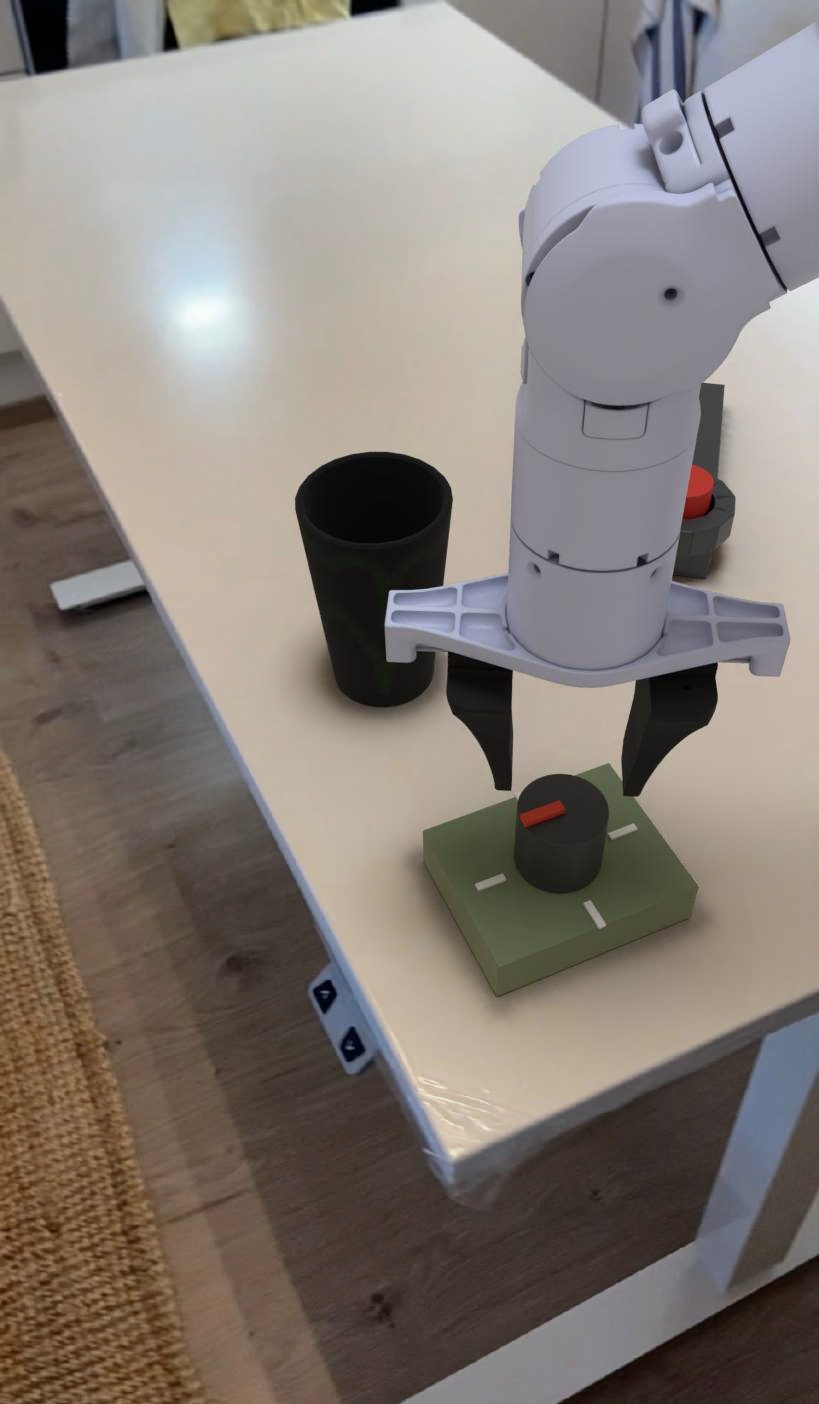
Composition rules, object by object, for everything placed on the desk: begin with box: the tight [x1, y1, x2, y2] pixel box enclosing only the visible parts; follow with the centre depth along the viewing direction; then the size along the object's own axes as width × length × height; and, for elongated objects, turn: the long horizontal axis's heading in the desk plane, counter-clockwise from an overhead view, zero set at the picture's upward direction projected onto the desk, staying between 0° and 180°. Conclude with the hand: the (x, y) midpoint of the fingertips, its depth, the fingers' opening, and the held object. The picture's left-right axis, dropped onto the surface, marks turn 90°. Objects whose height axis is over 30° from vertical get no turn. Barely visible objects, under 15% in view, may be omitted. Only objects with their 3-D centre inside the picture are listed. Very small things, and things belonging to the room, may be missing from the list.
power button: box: [682, 465, 714, 520], centre depth 70 cm, size 3×3×2 cm
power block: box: [673, 382, 737, 579], centre depth 76 cm, size 19×11×4 cm, turn 167°
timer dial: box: [514, 773, 609, 893], centre depth 53 cm, size 4×4×4 cm
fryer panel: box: [422, 762, 699, 997], centre depth 55 cm, size 10×8×3 cm
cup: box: [294, 451, 454, 708], centre depth 62 cm, size 8×8×12 cm
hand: (566, 775), depth 50 cm, fingers open, 5 cm apart
